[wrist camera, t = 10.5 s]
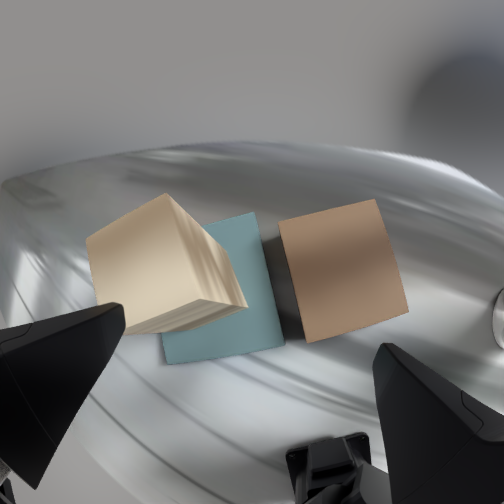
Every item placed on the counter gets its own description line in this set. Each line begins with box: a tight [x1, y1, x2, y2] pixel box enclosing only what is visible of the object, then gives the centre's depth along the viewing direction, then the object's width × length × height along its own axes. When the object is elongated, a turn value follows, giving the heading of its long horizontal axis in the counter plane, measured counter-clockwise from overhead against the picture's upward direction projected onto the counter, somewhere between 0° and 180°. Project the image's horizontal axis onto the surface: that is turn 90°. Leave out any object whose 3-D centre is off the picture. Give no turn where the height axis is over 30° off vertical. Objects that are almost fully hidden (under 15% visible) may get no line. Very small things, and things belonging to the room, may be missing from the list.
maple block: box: [86, 193, 249, 335], centre depth 15 cm, size 4×4×10 cm
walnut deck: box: [278, 199, 409, 343], centre depth 18 cm, size 8×7×3 cm
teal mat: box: [161, 212, 285, 365], centre depth 20 cm, size 10×9×1 cm
